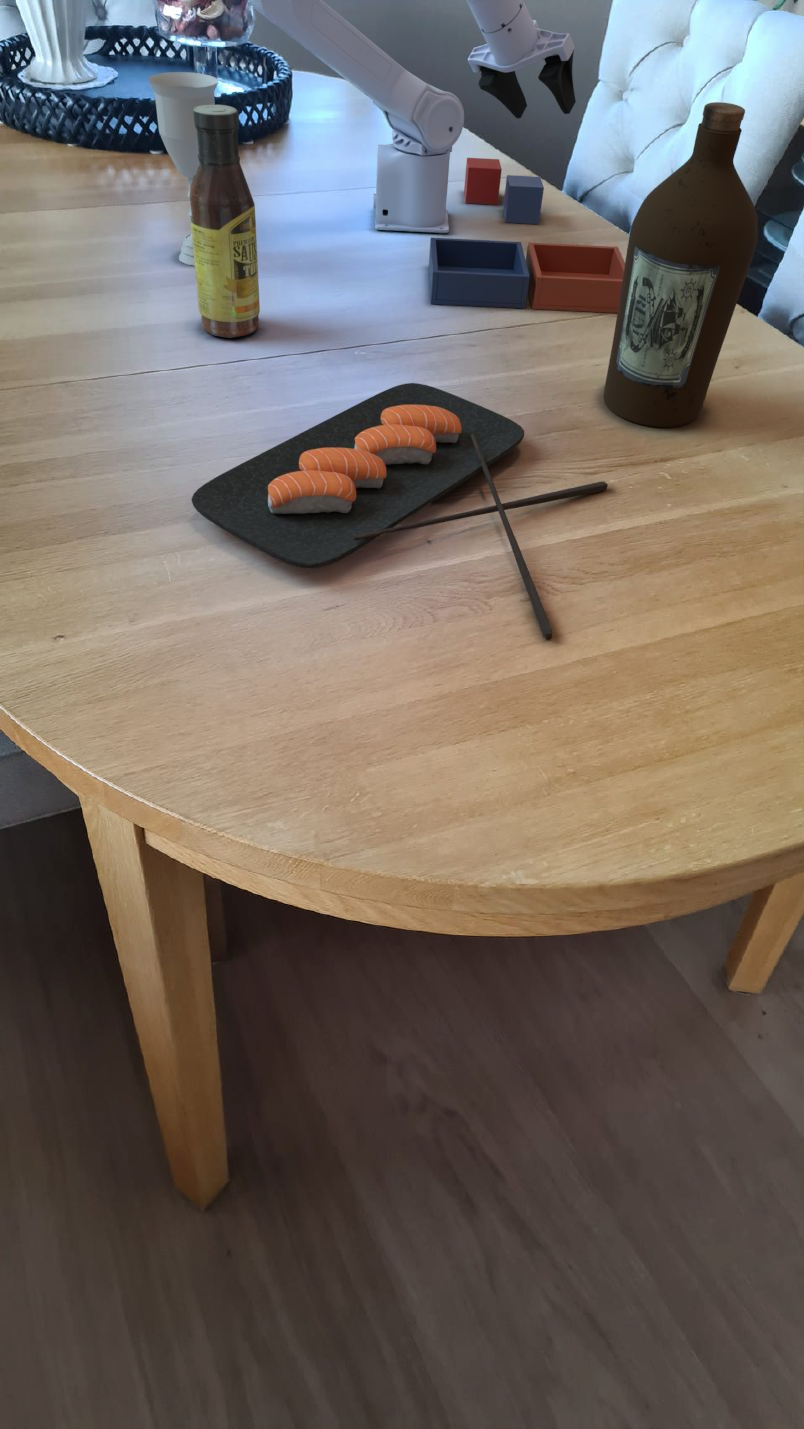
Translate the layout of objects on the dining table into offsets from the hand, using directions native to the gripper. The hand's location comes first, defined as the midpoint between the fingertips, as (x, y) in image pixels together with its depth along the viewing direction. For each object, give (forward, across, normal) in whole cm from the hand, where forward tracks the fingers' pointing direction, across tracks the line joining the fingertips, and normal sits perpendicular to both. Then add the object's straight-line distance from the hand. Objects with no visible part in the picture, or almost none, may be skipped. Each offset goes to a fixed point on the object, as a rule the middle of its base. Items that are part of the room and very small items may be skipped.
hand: (545, 110), depth 125 cm
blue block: (+6, +1, +11) cm, 13 cm away
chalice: (-22, +17, +42) cm, 51 cm away
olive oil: (-6, -38, +44) cm, 59 cm away
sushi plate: (-24, -36, +68) cm, 81 cm away
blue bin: (-6, -10, +32) cm, 34 cm away
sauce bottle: (-24, +1, +53) cm, 58 cm away
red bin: (+1, -18, +27) cm, 32 cm away
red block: (+6, +9, +8) cm, 14 cm away
